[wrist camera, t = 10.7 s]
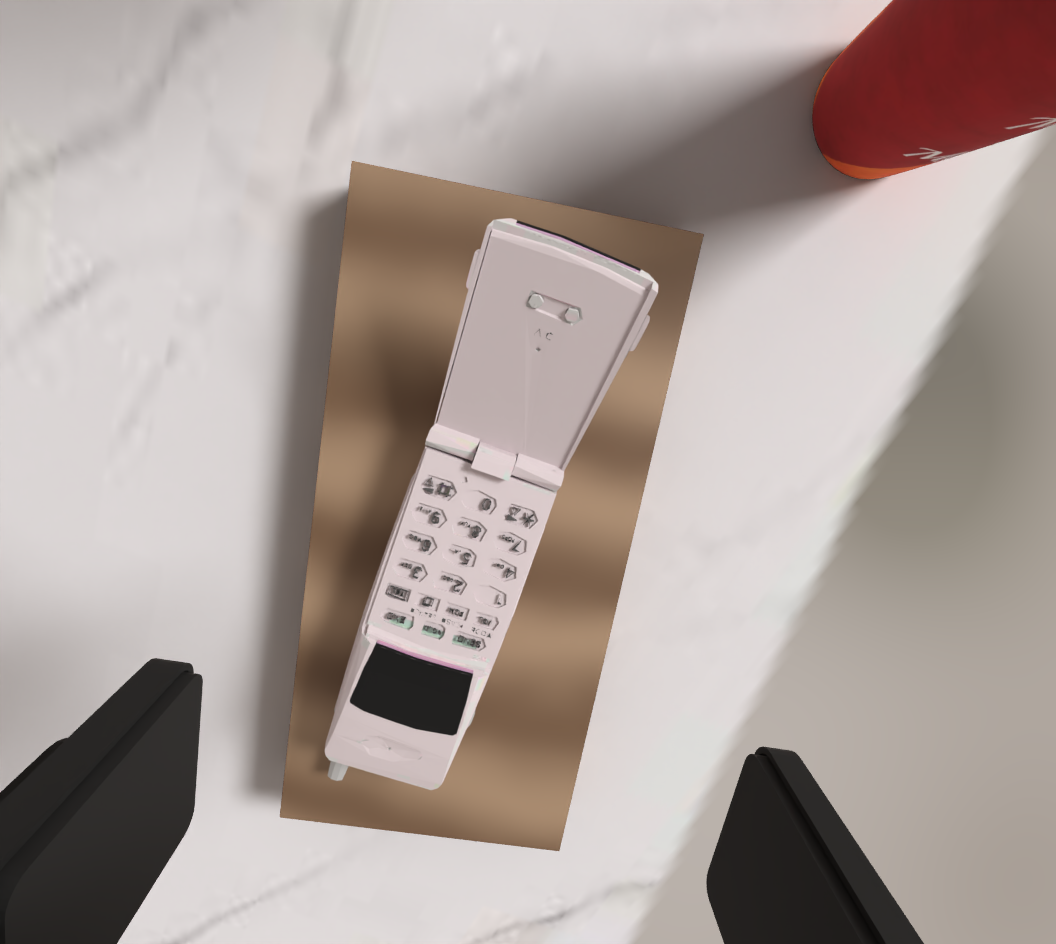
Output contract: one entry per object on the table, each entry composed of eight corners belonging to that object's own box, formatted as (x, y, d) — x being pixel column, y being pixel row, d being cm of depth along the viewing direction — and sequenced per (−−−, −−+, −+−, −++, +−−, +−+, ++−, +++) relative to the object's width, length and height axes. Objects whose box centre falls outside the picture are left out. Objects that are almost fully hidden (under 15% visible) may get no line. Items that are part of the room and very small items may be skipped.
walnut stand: (369, 181, 25) (351, 160, 23) (681, 245, 27) (703, 234, 24) (300, 773, 32) (279, 817, 29) (554, 805, 33) (559, 851, 30)
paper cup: (880, 241, 27) (1268, 144, 13) (751, 134, 26) (1032, -96, 12) (1000, 84, 26) (1567, -204, 12) (870, -37, 24) (1335, -511, 11)
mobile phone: (670, 276, 18) (419, 904, 23) (632, 292, 24) (438, 791, 29) (486, 202, 18) (268, 863, 22) (493, 237, 23) (318, 756, 28)
